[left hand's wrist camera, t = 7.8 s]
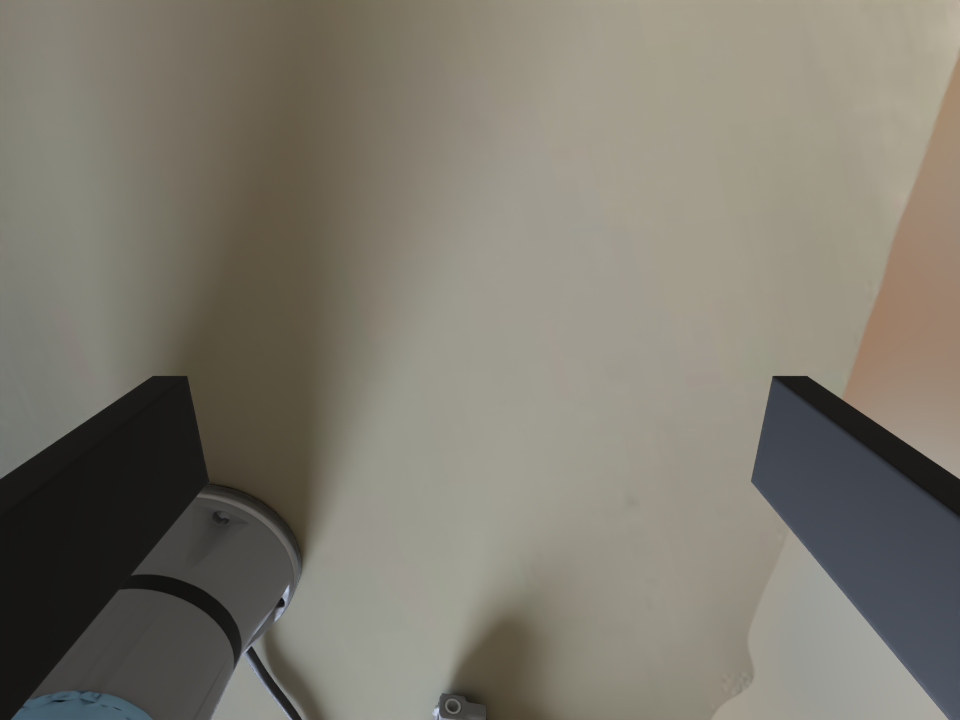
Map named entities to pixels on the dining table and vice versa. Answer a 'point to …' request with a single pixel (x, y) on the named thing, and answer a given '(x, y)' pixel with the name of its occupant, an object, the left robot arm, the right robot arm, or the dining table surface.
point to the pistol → (458, 709)
